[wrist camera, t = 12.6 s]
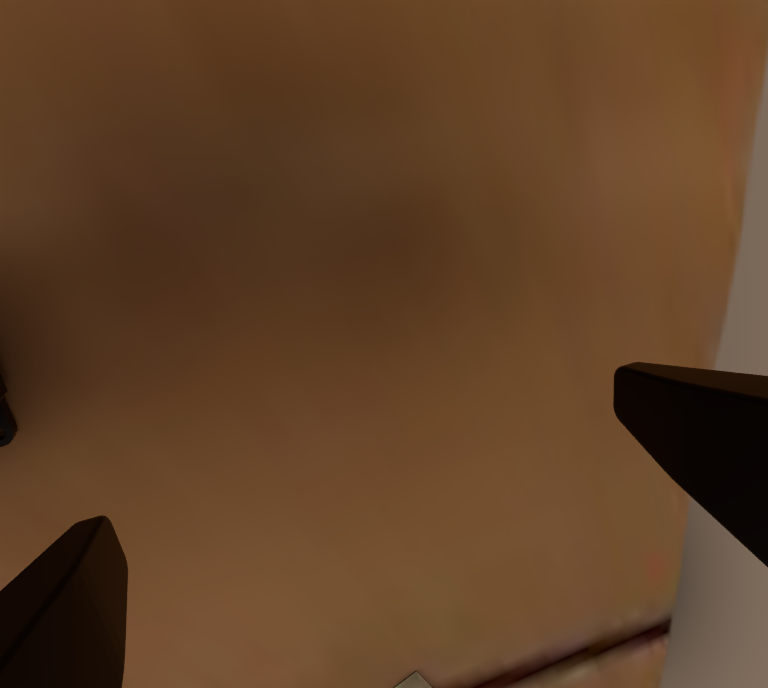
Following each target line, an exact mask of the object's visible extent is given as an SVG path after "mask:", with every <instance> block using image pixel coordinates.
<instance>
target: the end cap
mask: <svg viewBox="0 0 768 688" xmlns="http://www.w3.org/2000/svg"><path fill="white" fill-rule="evenodd" d="M395 688H432V687H431V686H430V685H429V684H428V683H427V682H426V681H425V680H424V679H423V678H422V677H421V676H420V675H419V674H418V673H417V672H415V673H413V674H412V675H411V676H409V677H408V678H407V679H406V680H404V681H403V682H402V683H400V684H399V685H398V686H396V687H395Z"/></svg>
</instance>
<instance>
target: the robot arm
mask: <svg viewBox="0 0 768 688" xmlns="http://www.w3.org/2000/svg"><path fill="white" fill-rule="evenodd" d="M6 392H7V388H6V386H5V384H4V382H3V380H2V377H1V375H0V429H2V430H3V431H4V432H5V435H3V436H0V447H3V446H5V445H7V444H9V443H10V442H11V441H12V440H13V438H14V437H15V435H16V433H17V426H16V424H15V421H14V419H13V417H12V415H11V413H10V411H9V408H8V406H7V404H6V402H5V400H4V398H3V397H4V396H5V394H6ZM613 406H614V412H615V414H616V416H617V418H618V419H619V421H620V422H621V423H622V424H623V425H624V426H625V427H626V428H627V430H628V431H629V432H630V433H631V434H632V435H633V436H634V437H635V438H636V440H637V441H638V442H639V443H640V444H641V445H642V446H643V447H644V449H645V450H646V451H647V452H648V453H649V454H650V455H651V456H652V457H653V459H654V460H655V461H656V462H657V463H658V464H659V465H660V466H661V467H662V469H663V470H664V471H665V472H666V473H667V474H668V475H669V476H670V477H671V478H672V479H673V480H674V481H675V482H676V483H677V484H678V485H679V486H680V487H681V488H682V489H683V490H685V491H686V492H687V493H688V494H689V495H690V496H691V497H692V498H693V499H694V500H695V501H696V502H698V503H699V504H700V505H701V506H702V507H703V508H704V509H705V510H706V511H707V512H708V513H709V514H711V515H712V516H713V517H714V518H715V519H716V520H717V521H718V522H719V523H720V524H721V525H722V526H724V527H725V528H726V529H727V530H728V531H729V532H730V533H731V534H732V535H733V536H734V537H735V538H737V539H738V540H739V541H740V542H741V543H742V544H743V545H744V546H745V547H747V548H748V550H750V551H751V552H752V553H753V554H754V555H755V556H756V557H757V558H758V559H759V560H760V561H761V562H763V563H764V564H765V565H766V566H767V567H768V376H761V375H753V374H743V373H733V372H725V371H716V370H707V369H698V368H689V367H680V366H670V365H661V364H652V363H643V362H635V363H631V364H627V365H624V366H621V367H619V368H618V369H617V370H616V371H615V374H614V402H613ZM127 586H128V566H127V561H126V557H125V554H124V552H123V550H122V547H121V545H120V542H119V540H118V538H117V535H116V533H115V530H114V528H113V525H112V523H111V521H110V520H109V519H108V517H106V516H103V515H102V516H97V517H94V518H90V519H87V520H83V521H80V522H77V523H75V524H74V525H73V526H72V527H71V528H70V529H68V530H67V531H66V532H65V533H64V534H63V535H62V536H61V537H60V538H58V539H57V540H56V541H55V542H54V543H53V544H52V545H51V546H50V547H49V548H47V549H46V550H45V551H44V552H43V553H42V554H41V555H40V556H39V557H38V558H36V559H35V560H34V561H33V562H32V563H31V564H30V565H29V566H28V567H26V568H25V569H24V570H23V571H22V572H21V573H20V574H19V575H18V576H17V577H15V578H14V579H13V580H12V581H11V582H10V583H9V584H8V585H7V586H6V587H4V588H3V589H2V590H1V591H0V688H122V681H123V673H124V662H125V642H126V614H127Z"/></svg>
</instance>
